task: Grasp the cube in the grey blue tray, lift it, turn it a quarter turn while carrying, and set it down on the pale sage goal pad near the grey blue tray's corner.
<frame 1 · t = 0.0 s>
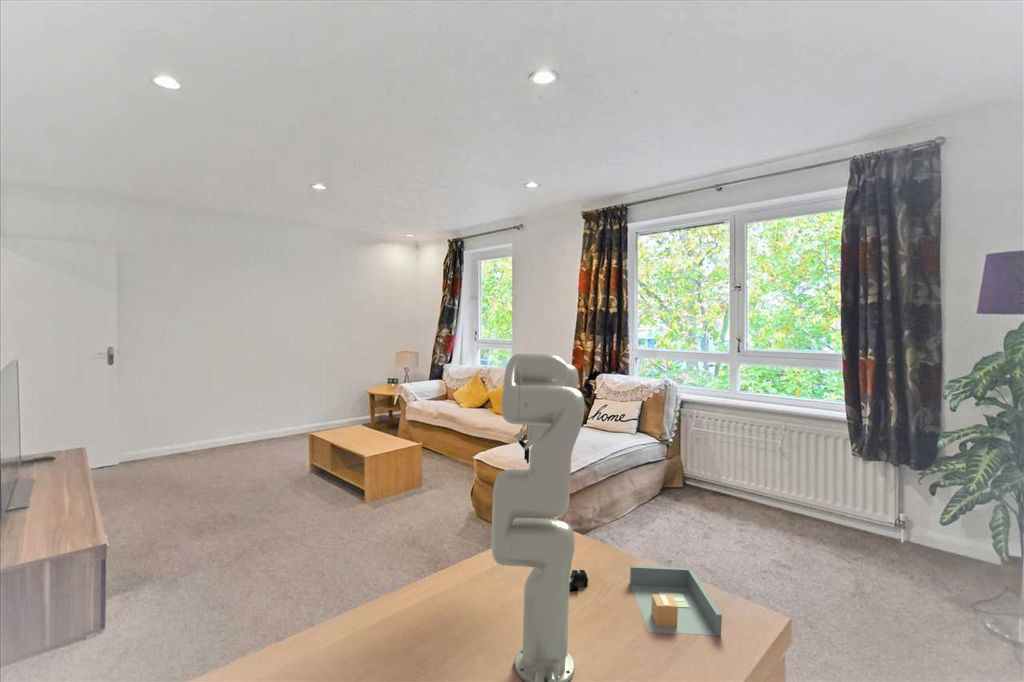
hand: (543, 462, 147), 31 cm above the table, fingers open, 9 cm apart
black hollow angular block: (578, 589, 136), on the table
cube: (663, 620, 120), point 1 cm above the table, touching grey blue tray
grey blue tray: (671, 609, 126), on the table
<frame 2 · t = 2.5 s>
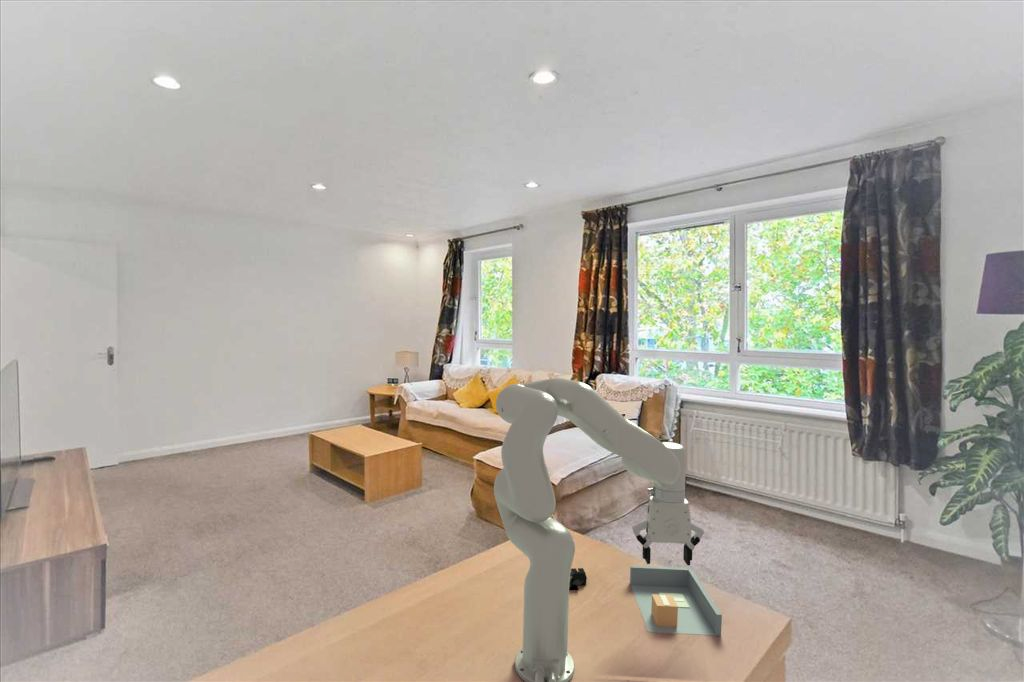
hand: (666, 562, 119), 15 cm above the table, fingers open, 9 cm apart
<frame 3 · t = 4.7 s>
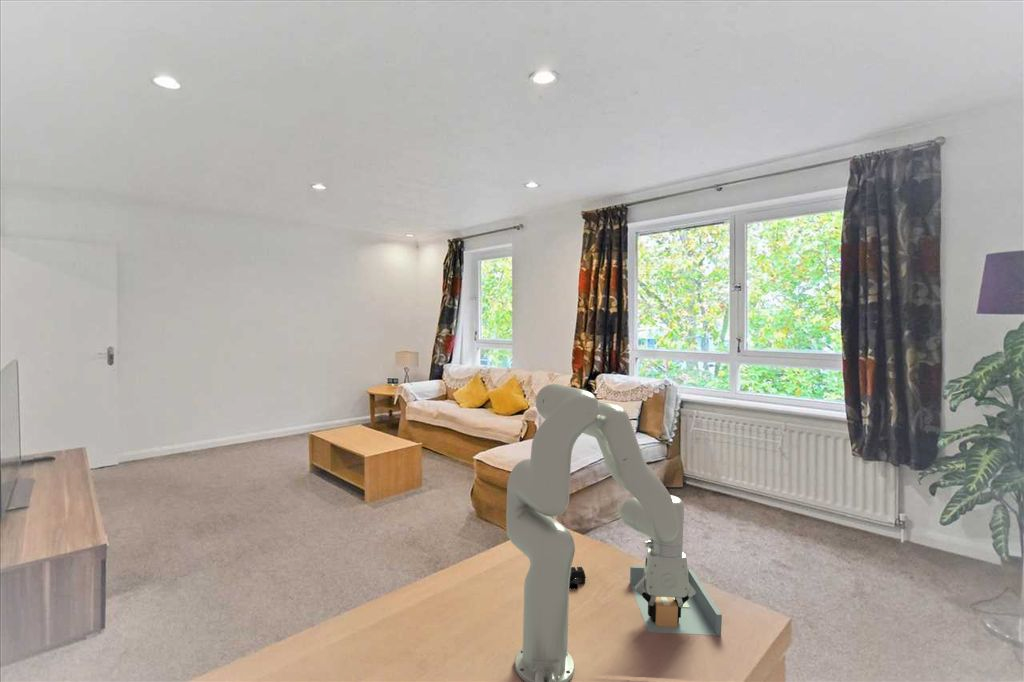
hand: (664, 618, 120), 1 cm above the table, fingers closed on cube, 5 cm apart
cube: (663, 620, 120), point 1 cm above the table, touching grey blue tray, gripper
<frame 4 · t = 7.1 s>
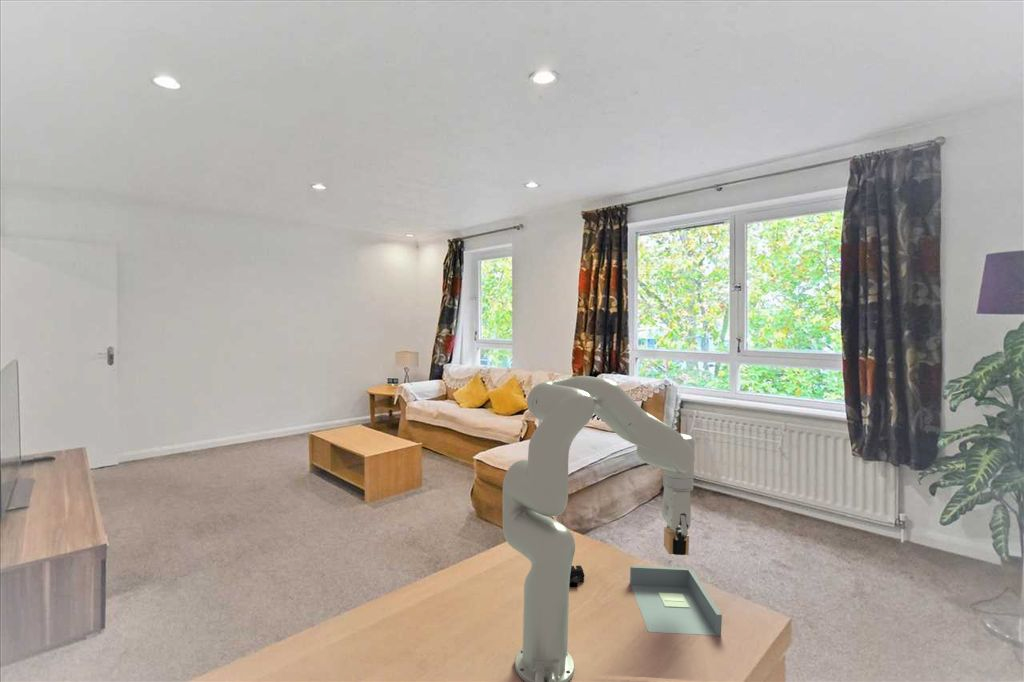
hand: (675, 548, 128), 15 cm above the table, fingers closed on cube, 5 cm apart
cube: (675, 550, 128), point 14 cm above the table, touching gripper
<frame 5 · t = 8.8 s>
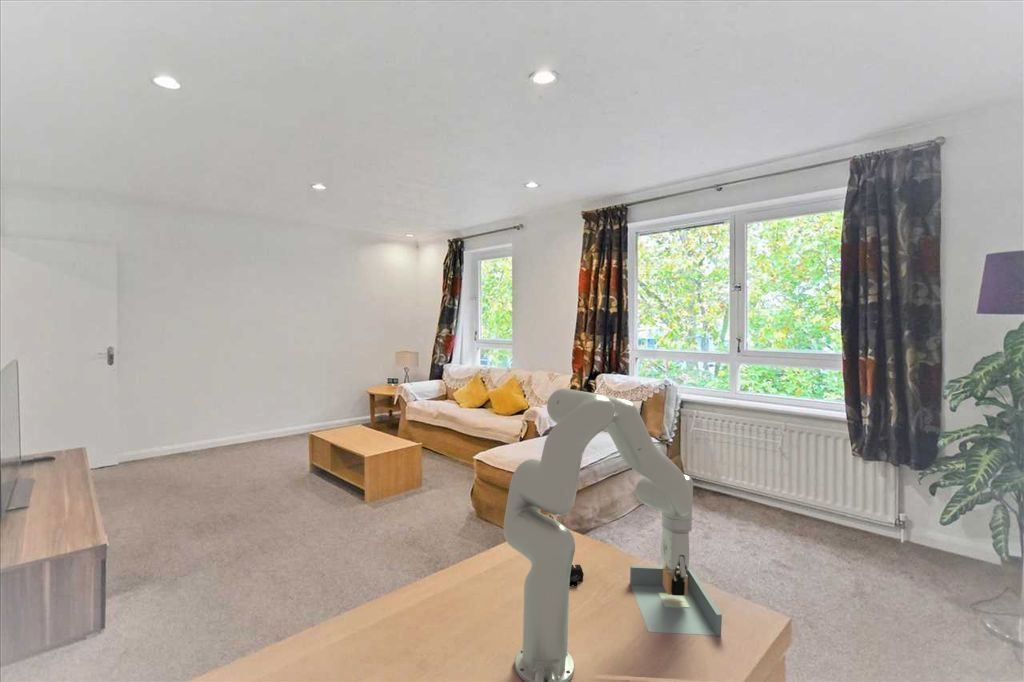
hand: (674, 588, 129), 4 cm above the table, fingers closed on cube, 5 cm apart
cube: (674, 589, 129), point 4 cm above the table, touching gripper
when the fingers open (3 cm above the table, at t = 9.9 s): cube drops 1 cm, resting on grey blue tray.
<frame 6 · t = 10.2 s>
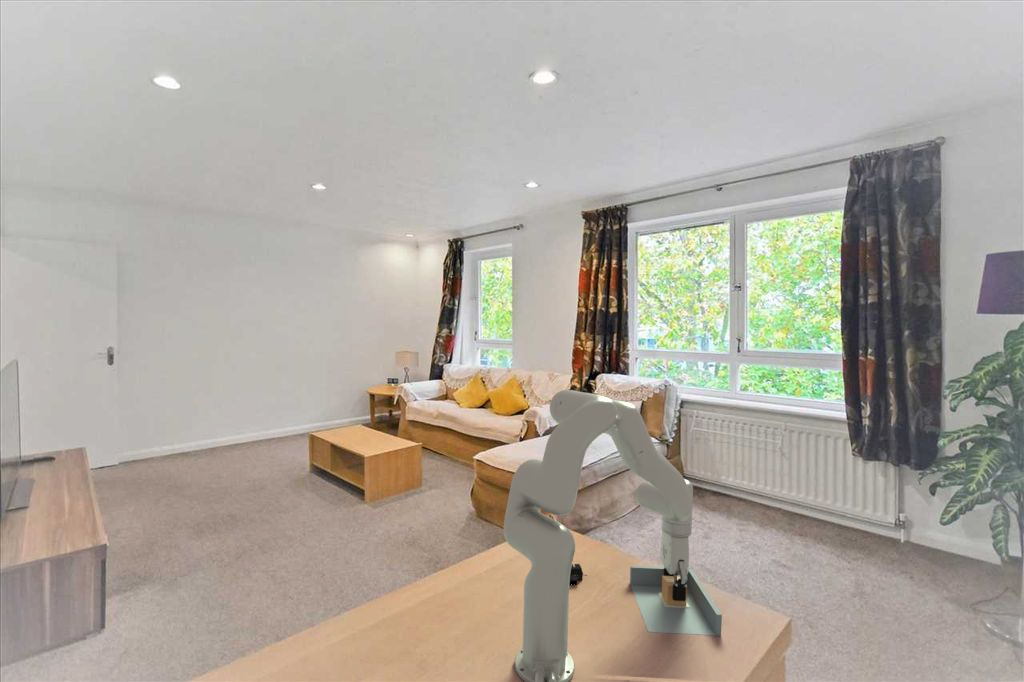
hand: (674, 590, 128), 3 cm above the table, fingers open, 7 cm apart
cube: (673, 599, 129), point 1 cm above the table, touching grey blue tray
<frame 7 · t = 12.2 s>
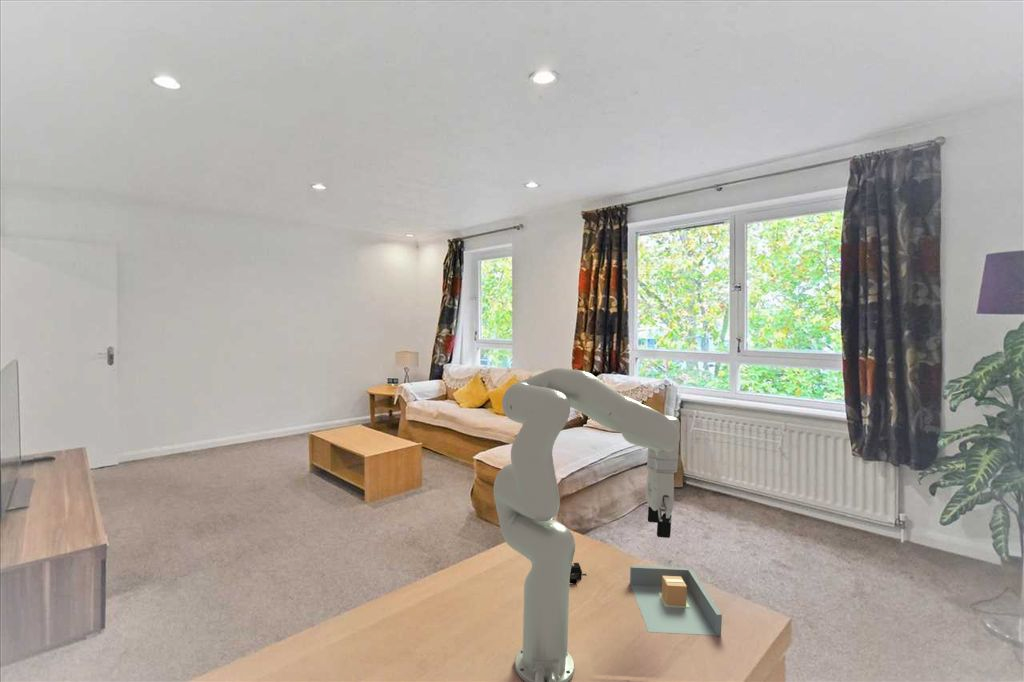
hand: (658, 529, 125), 21 cm above the table, fingers open, 9 cm apart
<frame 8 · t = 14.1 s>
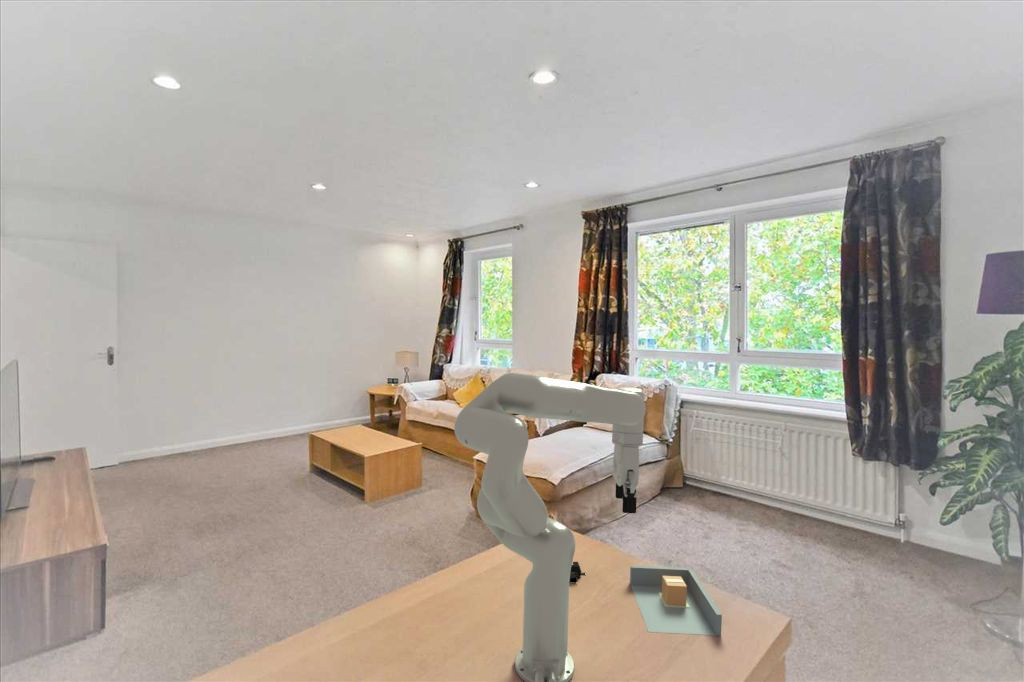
hand: (625, 505, 121), 28 cm above the table, fingers open, 9 cm apart
at the end: cube 0.0 cm from the target spot on the grey blue tray, point 0.9 cm above the grey blue tray's base; cube tilted 0°; the gripper is holding nothing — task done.
